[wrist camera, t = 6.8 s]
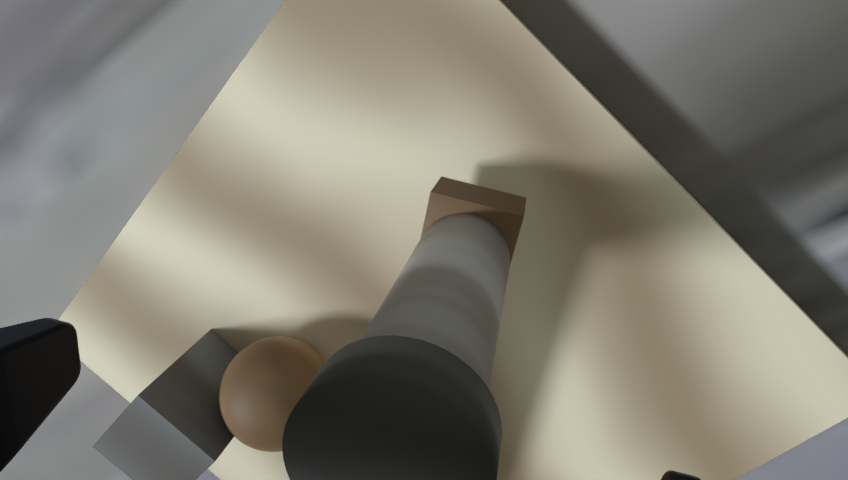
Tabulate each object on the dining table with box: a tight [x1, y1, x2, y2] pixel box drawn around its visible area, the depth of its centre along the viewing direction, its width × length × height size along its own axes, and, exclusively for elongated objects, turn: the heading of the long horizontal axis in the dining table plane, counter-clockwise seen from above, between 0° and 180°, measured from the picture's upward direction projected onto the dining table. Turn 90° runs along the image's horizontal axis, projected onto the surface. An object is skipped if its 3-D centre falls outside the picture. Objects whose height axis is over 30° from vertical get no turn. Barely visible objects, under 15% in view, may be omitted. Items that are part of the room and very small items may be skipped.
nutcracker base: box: [59, 0, 848, 480], centre depth 18 cm, size 20×20×6 cm
